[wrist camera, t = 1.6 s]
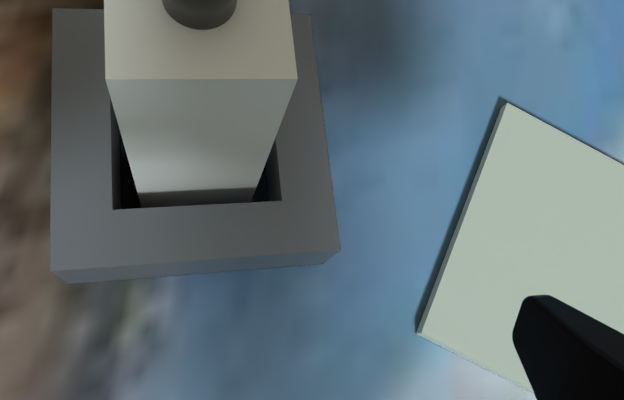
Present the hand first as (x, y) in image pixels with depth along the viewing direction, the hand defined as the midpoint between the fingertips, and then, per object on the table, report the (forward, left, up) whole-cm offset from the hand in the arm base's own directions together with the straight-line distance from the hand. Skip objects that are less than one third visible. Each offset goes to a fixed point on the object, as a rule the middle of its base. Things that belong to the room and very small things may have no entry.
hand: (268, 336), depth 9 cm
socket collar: (+4, +7, -14) cm, 16 cm away
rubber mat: (+14, -8, -14) cm, 22 cm away
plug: (+4, +7, -14) cm, 16 cm away
